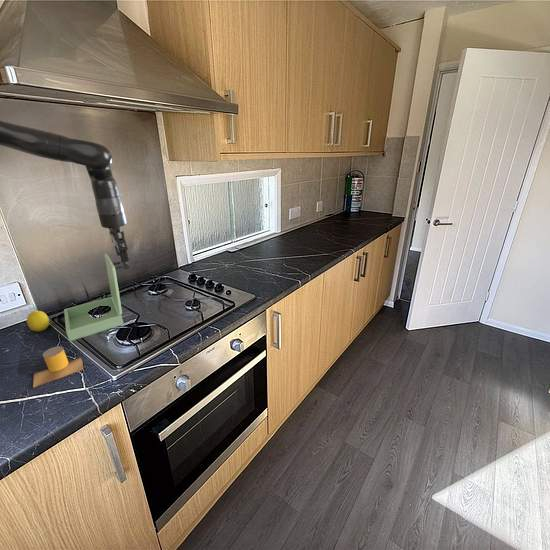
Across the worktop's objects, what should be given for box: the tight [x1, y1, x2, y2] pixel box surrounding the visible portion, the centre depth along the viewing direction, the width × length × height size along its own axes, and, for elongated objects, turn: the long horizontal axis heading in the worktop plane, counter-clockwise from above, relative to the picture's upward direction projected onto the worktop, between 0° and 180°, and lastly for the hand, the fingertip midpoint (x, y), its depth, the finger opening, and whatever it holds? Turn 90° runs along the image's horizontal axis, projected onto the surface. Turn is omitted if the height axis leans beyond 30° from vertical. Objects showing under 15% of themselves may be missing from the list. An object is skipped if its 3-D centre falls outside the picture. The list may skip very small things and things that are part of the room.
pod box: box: [63, 296, 125, 342], centre depth 101 cm, size 16×18×4 cm
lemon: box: [26, 310, 50, 332], centre depth 96 cm, size 6×6×8 cm
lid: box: [103, 253, 130, 315], centre depth 103 cm, size 16×18×6 cm
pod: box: [42, 345, 69, 372], centre depth 80 cm, size 5×5×5 cm
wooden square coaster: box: [32, 356, 84, 388], centre depth 81 cm, size 11×11×1 cm
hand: (122, 258), depth 101 cm, fingers open, 8 cm apart
